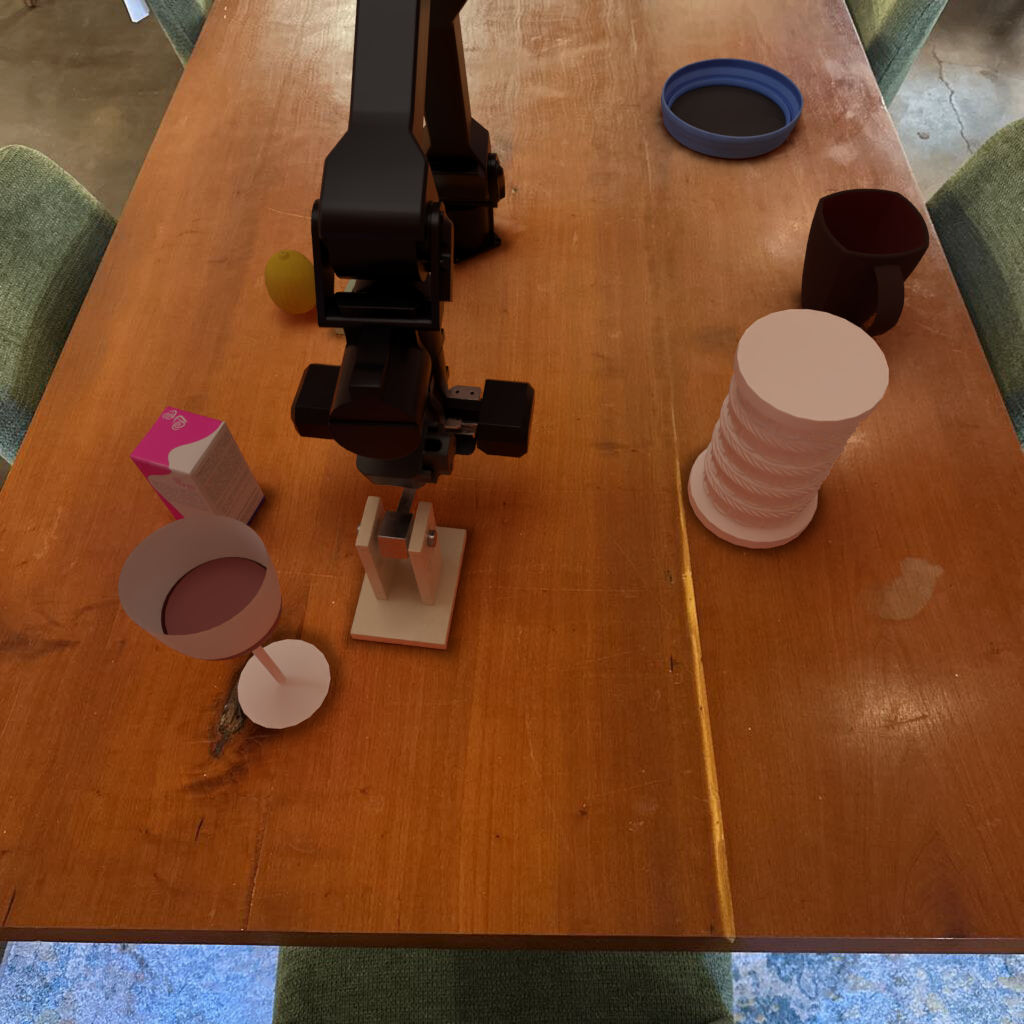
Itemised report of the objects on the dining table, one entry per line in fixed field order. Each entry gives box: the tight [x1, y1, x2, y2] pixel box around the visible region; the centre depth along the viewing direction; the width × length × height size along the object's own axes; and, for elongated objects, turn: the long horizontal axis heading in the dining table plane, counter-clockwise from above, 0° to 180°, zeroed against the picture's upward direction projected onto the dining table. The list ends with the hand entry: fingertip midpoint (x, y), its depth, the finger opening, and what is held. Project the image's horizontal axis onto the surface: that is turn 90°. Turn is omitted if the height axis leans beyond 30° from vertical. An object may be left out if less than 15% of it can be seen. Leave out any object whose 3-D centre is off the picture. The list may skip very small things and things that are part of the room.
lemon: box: [264, 249, 316, 315], centre depth 81 cm, size 6×6×8 cm
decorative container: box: [686, 308, 890, 549], centre depth 63 cm, size 12×12×18 cm
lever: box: [377, 487, 421, 560], centre depth 62 cm, size 13×3×3 cm, turn 173°
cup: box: [800, 188, 930, 338], centre depth 77 cm, size 10×14×12 cm
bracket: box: [349, 495, 468, 650], centre depth 62 cm, size 11×8×11 cm
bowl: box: [660, 57, 805, 159], centre depth 100 cm, size 18×18×4 cm
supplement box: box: [129, 405, 266, 527], centre depth 66 cm, size 6×6×12 cm
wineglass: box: [117, 515, 332, 730], centre depth 54 cm, size 8×9×20 cm
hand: (426, 468), depth 68 cm, fingers closed on lever, 3 cm apart
